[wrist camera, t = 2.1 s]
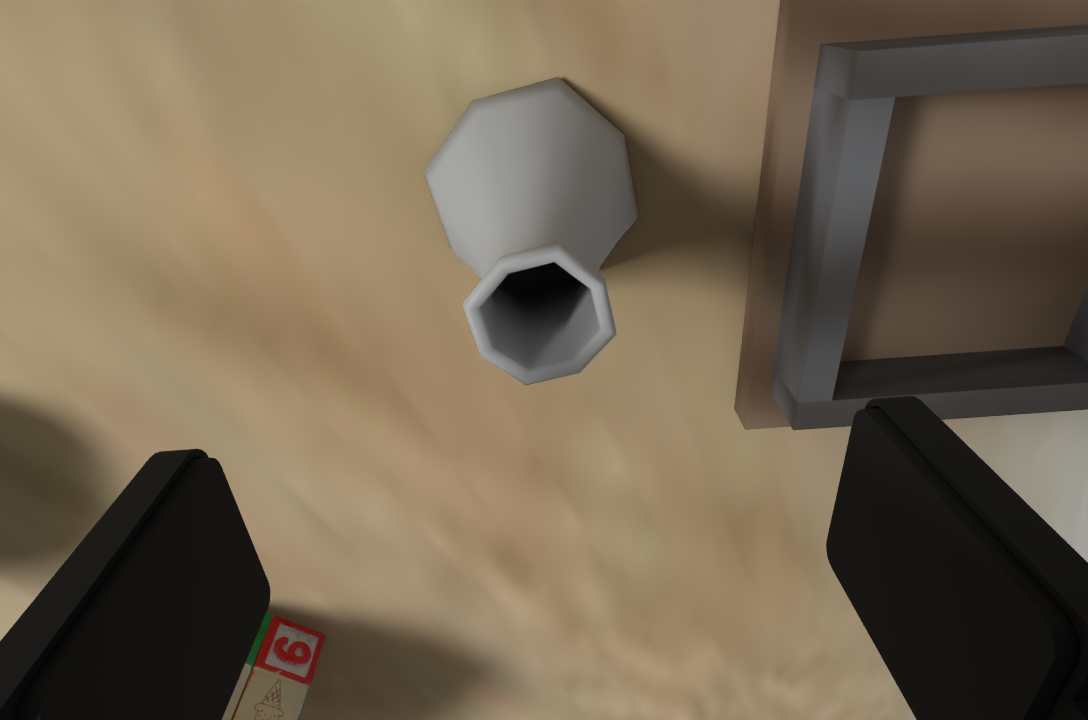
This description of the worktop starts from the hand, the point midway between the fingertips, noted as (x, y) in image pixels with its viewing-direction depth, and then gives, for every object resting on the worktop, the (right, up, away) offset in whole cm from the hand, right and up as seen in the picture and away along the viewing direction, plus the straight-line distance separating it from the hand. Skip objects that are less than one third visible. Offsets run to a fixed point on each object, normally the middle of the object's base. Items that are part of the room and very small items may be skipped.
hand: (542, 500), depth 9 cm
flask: (0, +8, +13) cm, 15 cm away
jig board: (+15, +7, +14) cm, 21 cm away
